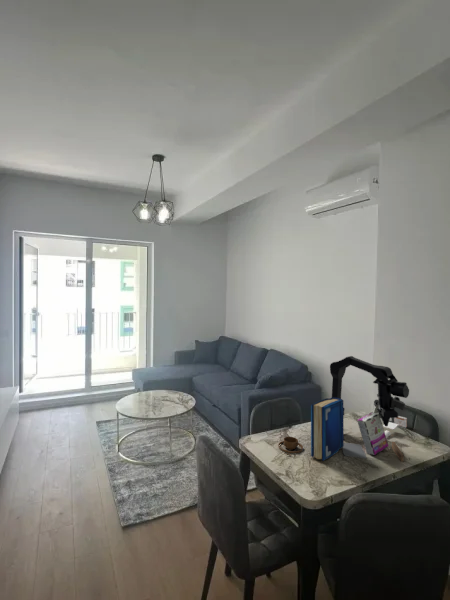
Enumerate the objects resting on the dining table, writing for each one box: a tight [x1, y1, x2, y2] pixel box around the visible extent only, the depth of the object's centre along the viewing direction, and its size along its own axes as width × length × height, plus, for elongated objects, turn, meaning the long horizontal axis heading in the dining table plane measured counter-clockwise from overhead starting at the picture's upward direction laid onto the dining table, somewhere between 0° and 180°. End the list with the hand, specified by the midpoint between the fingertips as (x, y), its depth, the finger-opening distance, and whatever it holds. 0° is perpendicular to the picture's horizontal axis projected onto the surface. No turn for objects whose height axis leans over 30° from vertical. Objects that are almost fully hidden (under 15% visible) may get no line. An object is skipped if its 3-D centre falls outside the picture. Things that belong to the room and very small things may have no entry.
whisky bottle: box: [382, 415, 408, 439], centre depth 186 cm, size 10×6×30 cm
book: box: [310, 396, 345, 462], centre depth 159 cm, size 22×7×25 cm, turn 135°
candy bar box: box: [356, 412, 389, 456], centre depth 161 cm, size 11×5×16 cm, turn 120°
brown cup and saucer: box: [278, 436, 304, 457], centre depth 161 cm, size 18×20×6 cm
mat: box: [341, 442, 368, 459], centre depth 162 cm, size 10×14×1 cm
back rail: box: [391, 441, 405, 463], centre depth 159 cm, size 1×14×3 cm, turn 168°
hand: (386, 426), depth 159 cm, fingers closed
